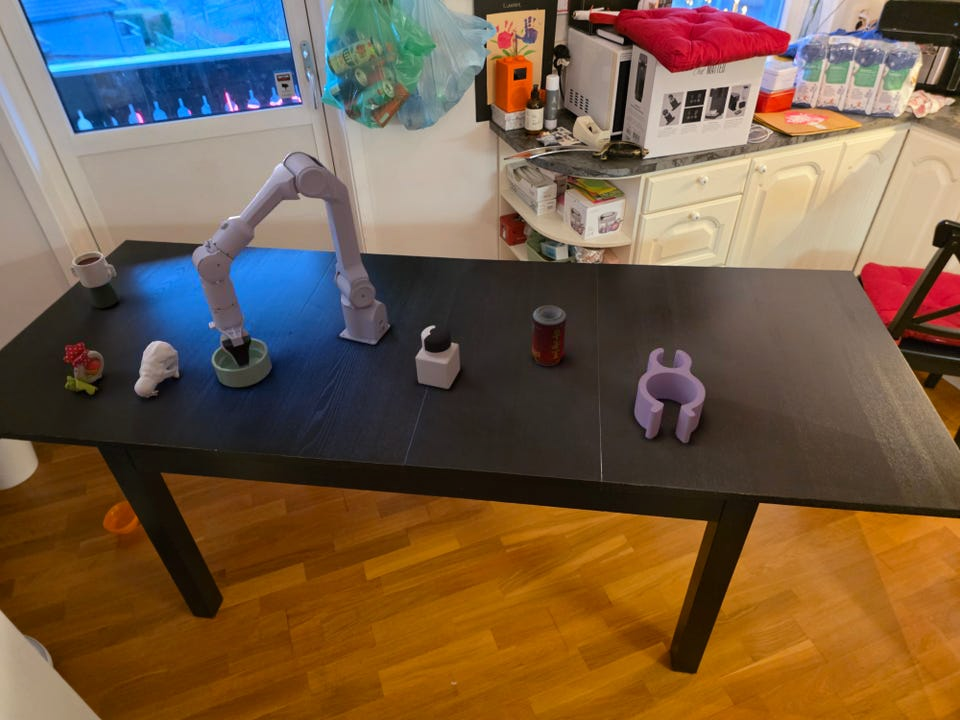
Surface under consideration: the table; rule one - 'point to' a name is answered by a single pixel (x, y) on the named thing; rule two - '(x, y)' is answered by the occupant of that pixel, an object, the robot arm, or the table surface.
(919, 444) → the table surface
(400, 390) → the table surface
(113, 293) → the character mug
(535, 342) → the soda can
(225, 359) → the bowl
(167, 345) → the white crouching figurine
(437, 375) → the medicine bottle
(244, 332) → the lightbulb
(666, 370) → the clip
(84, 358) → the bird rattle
